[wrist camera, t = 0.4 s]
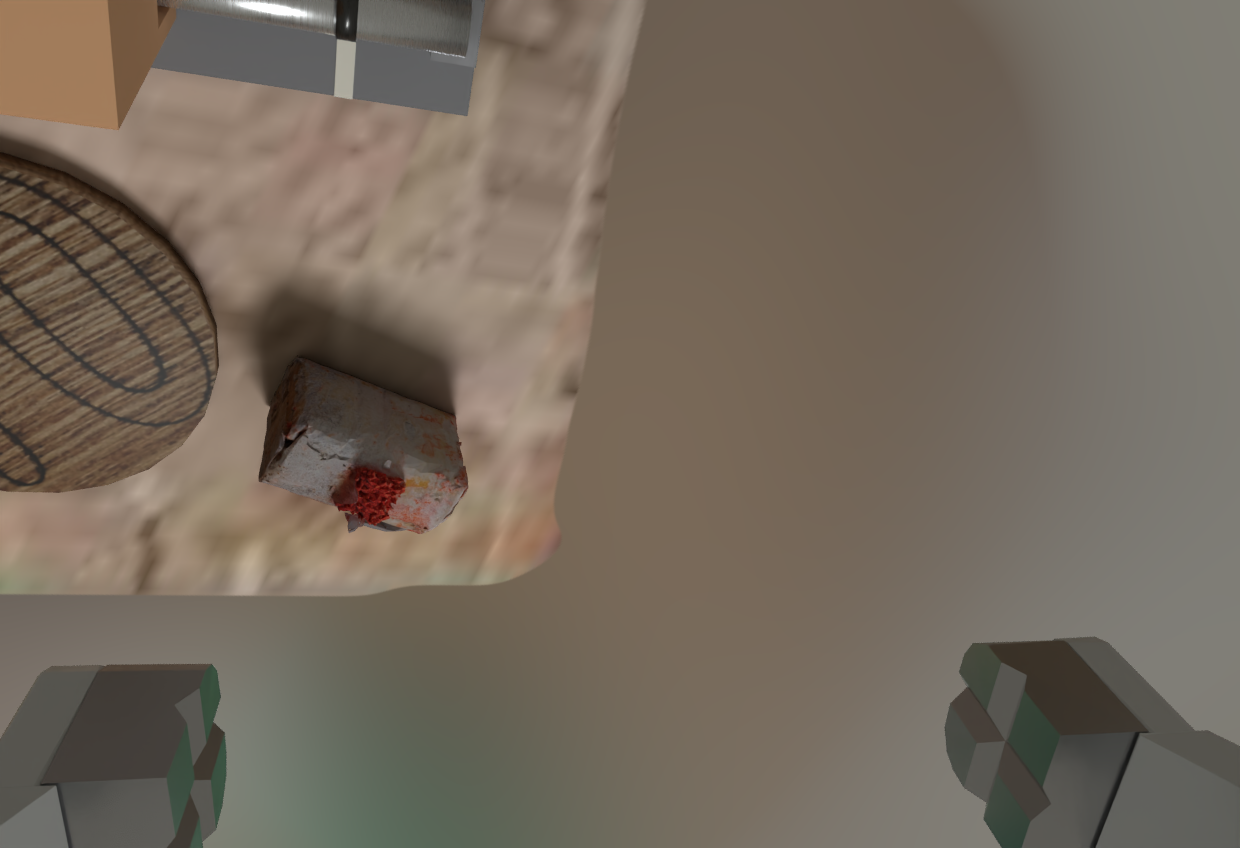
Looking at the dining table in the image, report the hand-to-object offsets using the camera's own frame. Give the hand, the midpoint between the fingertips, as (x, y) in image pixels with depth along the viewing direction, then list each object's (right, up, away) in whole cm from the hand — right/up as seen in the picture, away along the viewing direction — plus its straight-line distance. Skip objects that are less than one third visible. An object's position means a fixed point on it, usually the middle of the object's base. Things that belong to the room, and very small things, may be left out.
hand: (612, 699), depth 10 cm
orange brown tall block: (-25, +27, +37) cm, 52 cm away
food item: (-18, +4, +60) cm, 63 cm away
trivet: (-39, +9, +51) cm, 65 cm away
